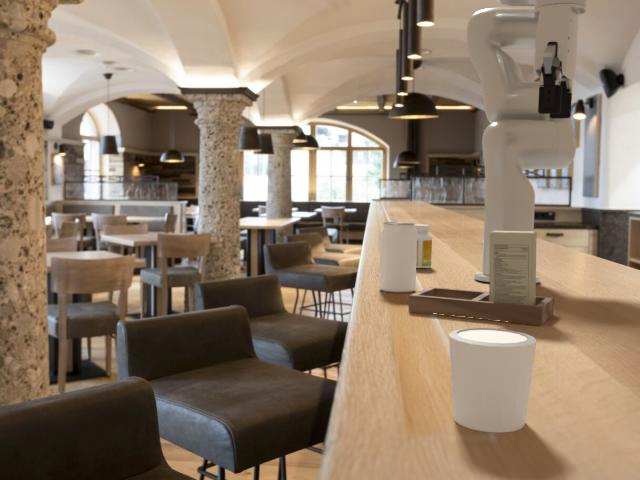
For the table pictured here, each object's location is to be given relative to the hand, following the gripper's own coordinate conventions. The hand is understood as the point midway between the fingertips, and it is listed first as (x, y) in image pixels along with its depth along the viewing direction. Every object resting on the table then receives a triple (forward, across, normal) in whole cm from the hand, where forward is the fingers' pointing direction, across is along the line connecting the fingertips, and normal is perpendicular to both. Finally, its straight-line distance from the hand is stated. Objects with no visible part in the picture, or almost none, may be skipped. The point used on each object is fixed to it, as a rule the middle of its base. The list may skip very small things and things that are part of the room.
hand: (554, 115), depth 110 cm
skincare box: (+30, +13, -2) cm, 33 cm away
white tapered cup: (+29, +60, +6) cm, 67 cm away
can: (+30, 0, -26) cm, 40 cm away
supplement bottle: (+31, -35, -34) cm, 58 cm away
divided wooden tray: (+30, +13, -7) cm, 33 cm away
